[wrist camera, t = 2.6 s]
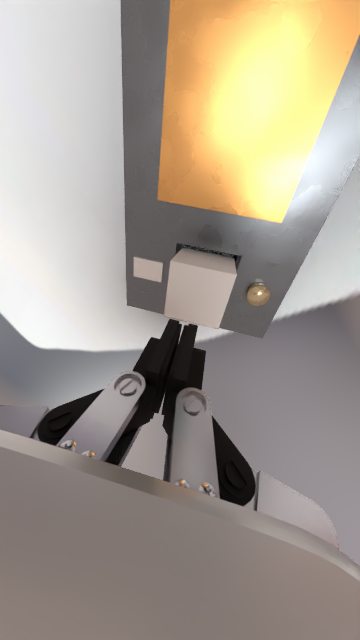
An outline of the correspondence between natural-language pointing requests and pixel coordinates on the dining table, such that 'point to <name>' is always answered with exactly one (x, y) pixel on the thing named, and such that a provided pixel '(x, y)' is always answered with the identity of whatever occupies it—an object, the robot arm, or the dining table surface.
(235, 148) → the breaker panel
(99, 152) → the dining table surface
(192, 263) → the switch
